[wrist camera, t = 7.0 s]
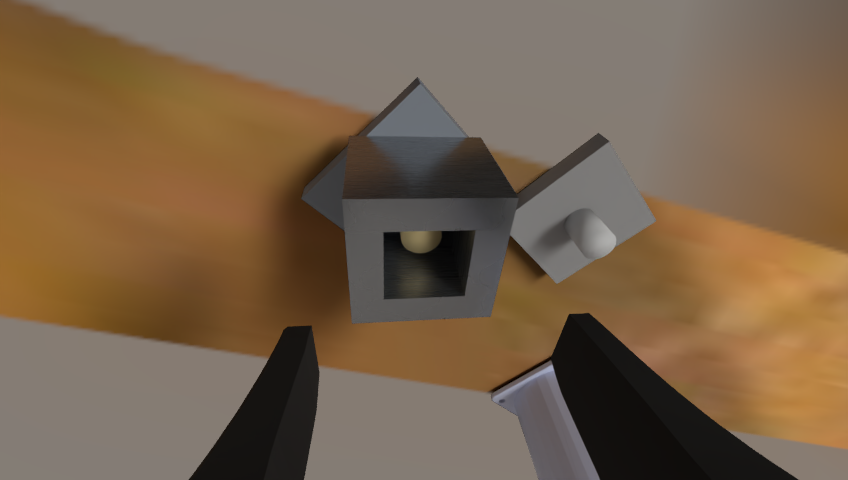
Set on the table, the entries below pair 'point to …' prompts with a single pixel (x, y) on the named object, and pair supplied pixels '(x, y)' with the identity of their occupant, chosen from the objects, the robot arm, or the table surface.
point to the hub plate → (402, 117)
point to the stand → (579, 210)
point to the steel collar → (424, 227)
